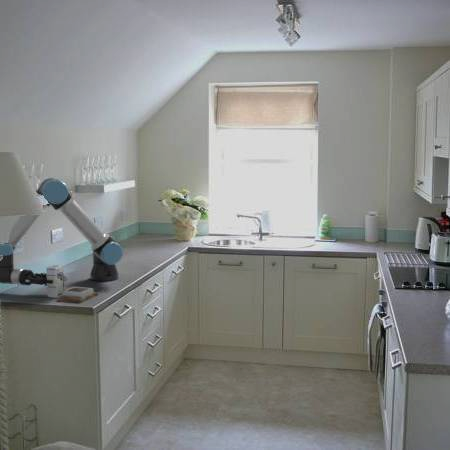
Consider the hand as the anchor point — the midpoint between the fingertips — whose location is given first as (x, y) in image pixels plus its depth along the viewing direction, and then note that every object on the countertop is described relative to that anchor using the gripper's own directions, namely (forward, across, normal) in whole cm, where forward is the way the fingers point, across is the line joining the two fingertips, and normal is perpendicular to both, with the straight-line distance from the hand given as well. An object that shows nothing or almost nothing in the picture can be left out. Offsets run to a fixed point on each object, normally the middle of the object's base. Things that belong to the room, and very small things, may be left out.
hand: (64, 280), depth 302 cm
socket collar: (+7, 0, -6) cm, 10 cm away
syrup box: (-5, 0, -8) cm, 10 cm away
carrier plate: (+7, 0, -8) cm, 11 cm away
